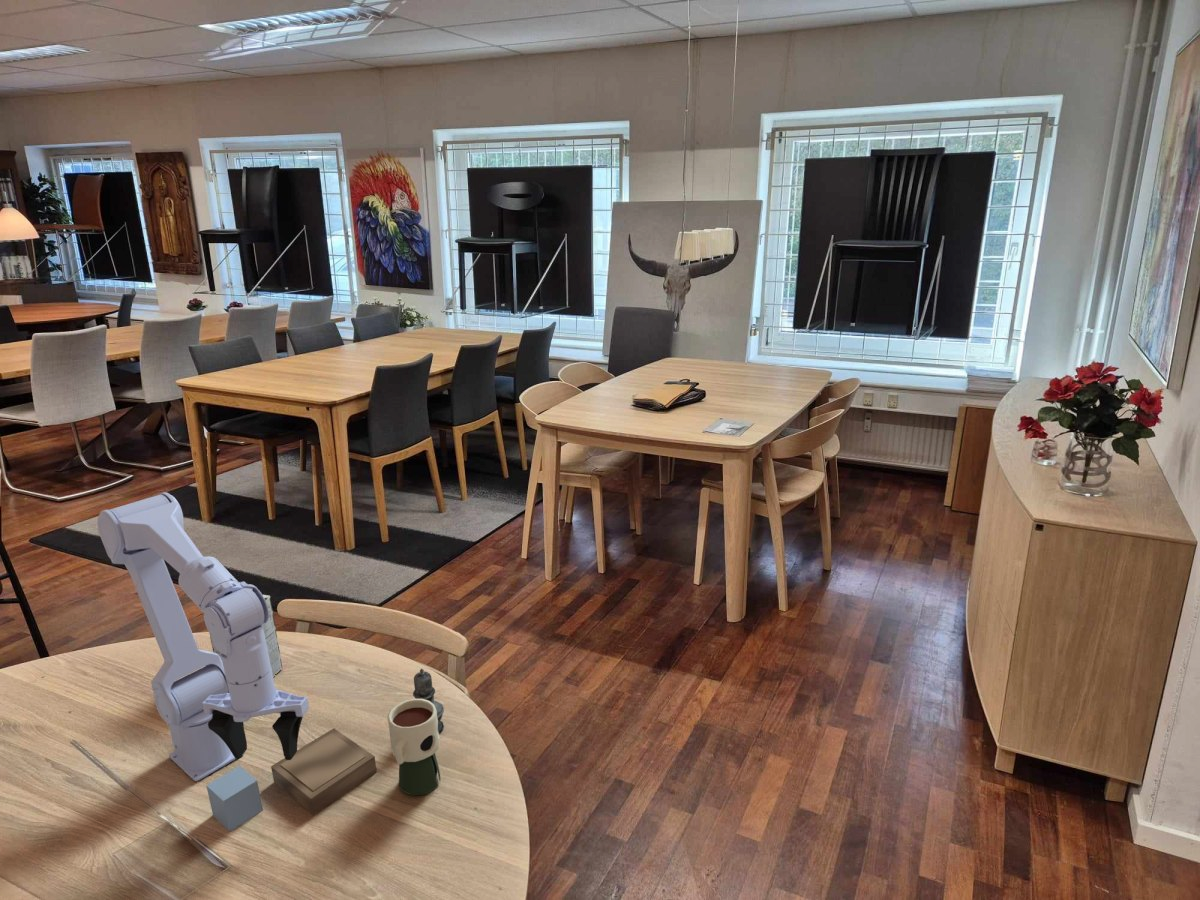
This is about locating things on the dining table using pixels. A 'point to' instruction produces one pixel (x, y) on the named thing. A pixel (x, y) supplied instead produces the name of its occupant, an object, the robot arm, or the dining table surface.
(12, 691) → the dining table surface
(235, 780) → the blue block
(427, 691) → the salt shaker
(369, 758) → the walnut plinth
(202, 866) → the dining table surface
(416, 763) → the character mug
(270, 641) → the candy bar box
